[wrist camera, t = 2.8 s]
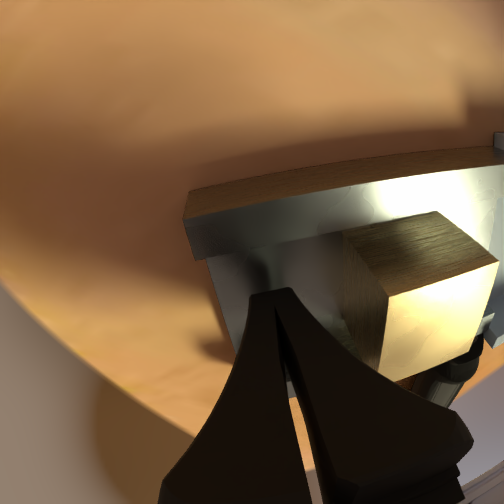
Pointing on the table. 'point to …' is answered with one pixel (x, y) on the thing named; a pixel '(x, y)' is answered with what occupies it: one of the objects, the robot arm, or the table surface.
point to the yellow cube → (414, 292)
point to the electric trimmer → (449, 376)
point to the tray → (500, 247)
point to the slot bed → (330, 225)
